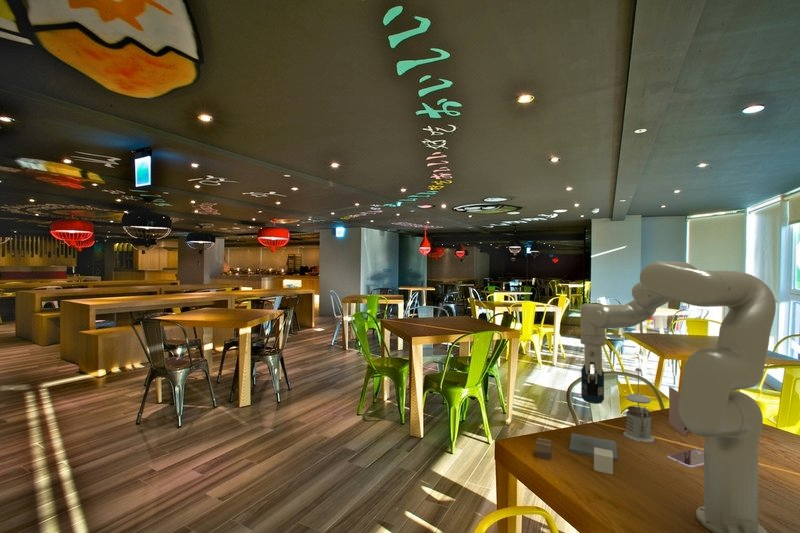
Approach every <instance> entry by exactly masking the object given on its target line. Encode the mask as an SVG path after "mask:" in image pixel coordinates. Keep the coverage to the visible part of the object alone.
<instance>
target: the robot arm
mask: <svg viewBox="0 0 800 533" xmlns="http://www.w3.org/2000/svg"><path fill="white" fill-rule="evenodd" d="M631 295H632V298H633V300H631V301H629V302H628V303H624V304H599V303H583V304H581V306H580V344H581V345H584V349H583V351H584V353H583V354H584V364H585V370H586V374H588V382H587V394H588V395H593V396H598V384H597V374H599V375H600V376H601V375H602V370H603V348H602V347H604V346H606V329H607V330H608V329H625V328H626V329H627V328H633V327H635V326H638V325H640V324H642V323H643V322H646V321H647V320H650V319H651V318H652V317H653V315H654V314H656V312H657V309H659V308H660V307H661V306H665V304H668V303H670V302H672V301H677V302H679V303H683V304H686V305H689V306H690V305H691V306H695V307H702V308H703V307H704V308H705V307H706V308H708V307H711V308H712V307H715V308H716V307H727V308H728V312H727V313H726V315H725V317H724V318H723V319H722V321H721V324H720V326H719V333H718V338H717V342H716V345H715V346H714V347H706V348H700V349H697V350H696V351H693V353H691V354H690V355H689V356H688V358H687V359H686V362H685V364H684V367H683V371H682V372H683V373H682V380H681V384H680V391H679V393H680V396H679V404H678V409H679V415H680V418H681V420H682V422H683V424H684V425H685V427H686V428H687V429H688V430H689V432H691V434H694V435H697V436H699V437H703V438H705V439H704V443H703V452H704V465H703V475H704V476H703V479H704V480H703V481H704V482H703V489H704V490H703V492H704V493H703V494H704V495H703V496H704V500H703V501H704V505H703V506H699V507H698V508H696V514H695V516H696V518H697V520H698V521H699V523H700V524H701V525H702V526H704V527H705V528H706V529H708V530H709V531H711V532H712V533H768V531H767V530H766V529H765V527H764V526H762V525H761V524H760V523H759V520H760V519H759V444H760V438H761V434H762V429H763V425H764V424H763V421H764V417H763V416H764V415H763V412H762V409H761V408H760V405H759V404H758V403H757V402H756V401H755V399H753V398H752V397H751V396H750V395H748V394H746V393H744V392H741V390H745V389H751V388H754V387H756V386H758V385H759V384H760V383H761V381H762V380H763V376H764V372H765V365H766V362H767V361H766V360H767V355H768V349H769V345H770V344H769V343H770V337H771V331H772V327H773V324H774V321H775V316H776V311H777V310H776V308H777V307H776V306H777V304H776V298H775V296H774V294H773V291H772V290H771V289H770V287H769V286H768V285H767V284H766V283H765V282H764V281H763V280H761V279H760V278H759V277H757V276H754V275H752V274H749V273H746V272H743V271H737V270H736V271H734V270H702V269H698V268H696V267H695V266H694V265H693V264H691V263H688V262H684V261H673V260H669V261H666V260H657V261H656V260H655V261H653V262H650V263H648V264H647V265H645V267H643V268H642V270H641V272H640V274H639V282H637V283H636V284H635V285H633V287H632V288H631ZM594 367H595V368H594ZM589 372H590V373H589ZM594 372H596V374H594ZM594 376H595V377H594ZM738 390H739V391H738Z"/></svg>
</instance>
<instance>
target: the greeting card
mask: <svg viewBox="0 0 800 533" xmlns="http://www.w3.org/2000/svg"><path fill="white" fill-rule="evenodd" d="M679 396H680V391H678V390H676V389H674V388H673V387H671V386H668V416H669V417H668V423H669V424H668V425H670V426H671V427H673V429H674V430H676V431H677V432H678V433H680V434H681V435H682V436H685V435H687V433H688V432H690V430H688V429H687V428H686V427H685V425H684V424H683V422H682V420H681V418H680V415H679V409H678V404H679Z"/></svg>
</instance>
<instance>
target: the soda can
mask: <svg viewBox="0 0 800 533" xmlns="http://www.w3.org/2000/svg"><path fill="white" fill-rule="evenodd" d="M594 368H595V367H594ZM580 371H581V375H580V376H581V377H580V378H581V379H580V380H581V381H580V383H581V388H580V390H581V391H580V393H581V395H580V396H581V398H582V400H583V401H584V402H585V403H589V404H593V405H600V404H602V403H603V402H604V400H605V371H604V370H603V369H602V375H601V376H600V375H599V374H597V384H598V396H593V395H588V394H587V382H588V374H586V370H585V363H584V364H583V365H582V368H581V370H580ZM589 373H590V372H589ZM594 374H596V372H594ZM594 377H595V376H594Z"/></svg>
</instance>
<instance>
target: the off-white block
mask: <svg viewBox="0 0 800 533" xmlns="http://www.w3.org/2000/svg"><path fill="white" fill-rule="evenodd" d="M593 471H596V472H599V473H605V474H609V475H614V461H613V451H611V450H606V449H601V448H596V447H594V457H593Z"/></svg>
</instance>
